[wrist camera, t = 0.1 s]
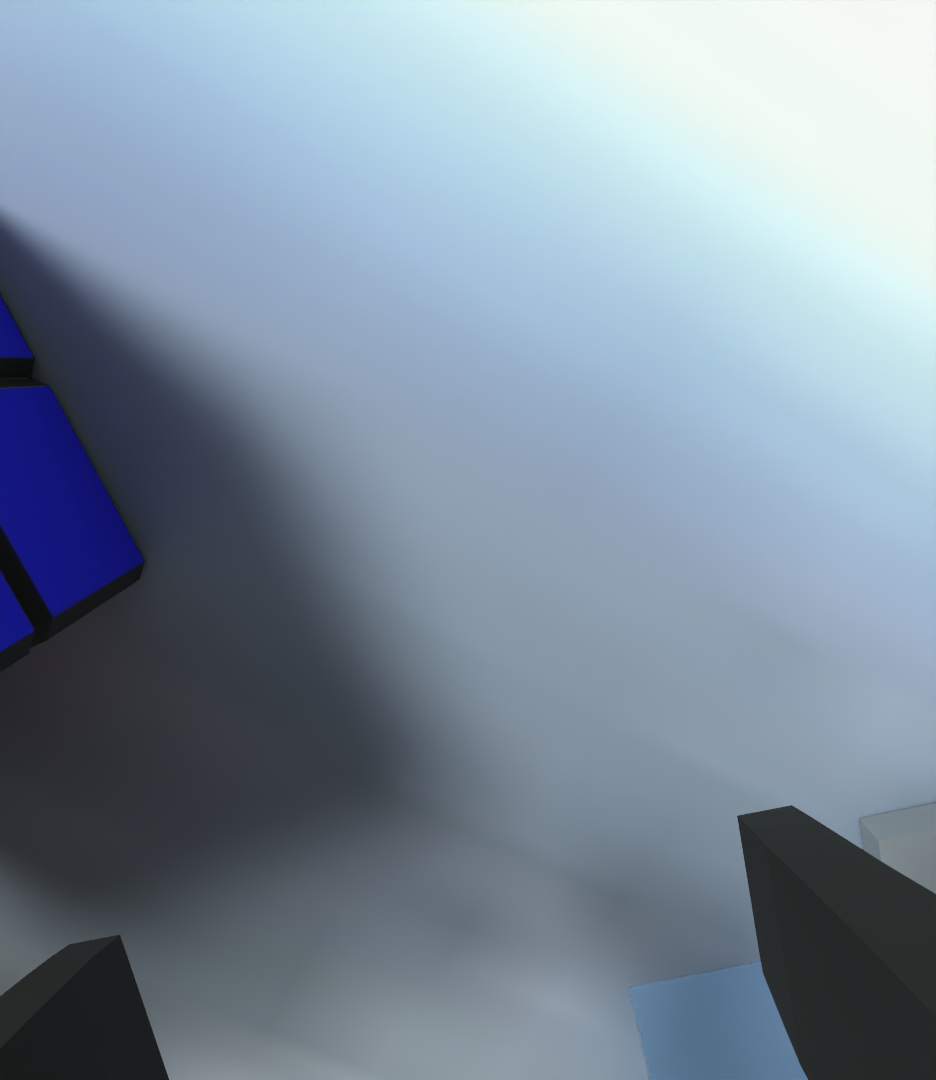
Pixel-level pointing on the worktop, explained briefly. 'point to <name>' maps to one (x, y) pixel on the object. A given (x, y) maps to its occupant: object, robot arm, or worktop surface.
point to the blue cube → (714, 1028)
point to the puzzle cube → (49, 513)
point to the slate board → (904, 842)
